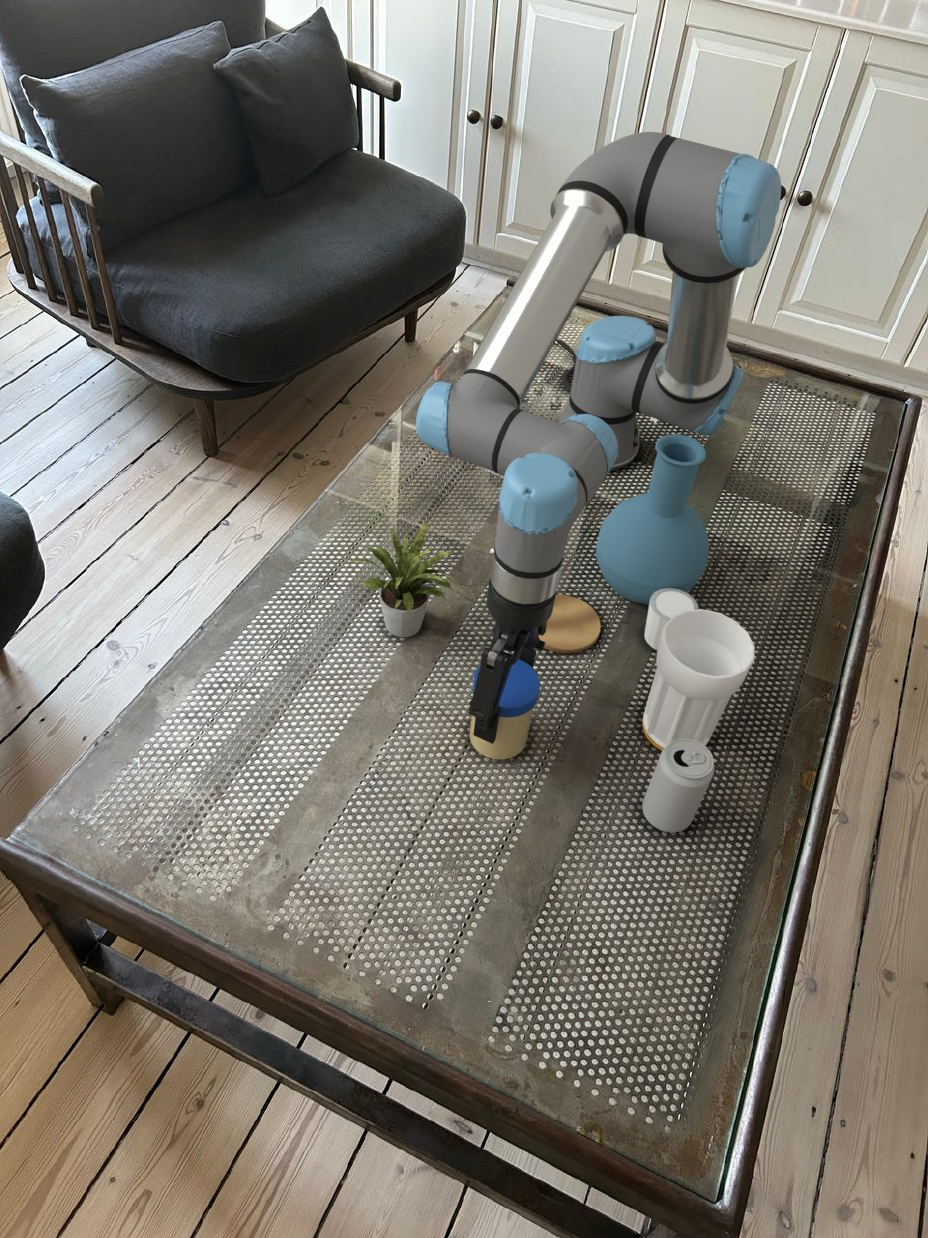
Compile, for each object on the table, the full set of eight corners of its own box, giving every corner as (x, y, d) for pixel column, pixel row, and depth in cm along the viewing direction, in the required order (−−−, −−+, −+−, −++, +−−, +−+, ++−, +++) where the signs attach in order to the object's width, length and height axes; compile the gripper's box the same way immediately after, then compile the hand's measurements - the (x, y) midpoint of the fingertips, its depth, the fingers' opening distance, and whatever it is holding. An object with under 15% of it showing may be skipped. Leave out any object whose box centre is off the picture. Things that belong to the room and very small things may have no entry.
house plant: (370, 679, 134) (371, 595, 122) (331, 611, 142) (329, 526, 130) (463, 647, 139) (473, 563, 127) (421, 583, 147) (426, 499, 135)
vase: (708, 566, 154) (754, 435, 136) (679, 635, 143) (725, 503, 125) (609, 531, 158) (641, 400, 140) (574, 596, 147) (603, 462, 129)
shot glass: (690, 628, 145) (702, 595, 139) (682, 661, 140) (694, 628, 135) (645, 615, 146) (655, 581, 141) (635, 647, 141) (645, 613, 136)
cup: (630, 692, 135) (657, 605, 123) (711, 698, 136) (747, 612, 123) (637, 760, 128) (667, 674, 115) (723, 766, 128) (763, 681, 115)
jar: (460, 721, 130) (466, 669, 122) (512, 706, 132) (521, 654, 124) (483, 766, 125) (490, 715, 117) (536, 750, 128) (547, 699, 120)
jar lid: (462, 675, 123) (463, 665, 122) (520, 659, 126) (522, 649, 124) (488, 725, 118) (490, 715, 117) (549, 707, 121) (551, 697, 119)
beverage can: (636, 792, 124) (656, 735, 115) (685, 790, 125) (709, 734, 116) (646, 836, 120) (668, 781, 111) (697, 835, 121) (723, 779, 112)
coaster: (512, 607, 145) (513, 604, 144) (578, 591, 148) (579, 587, 148) (545, 661, 138) (545, 657, 137) (613, 642, 142) (614, 638, 141)
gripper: (534, 515, 116) (513, 641, 132) (445, 634, 102) (434, 759, 118) (592, 537, 114) (563, 663, 130) (510, 662, 100) (490, 785, 116)
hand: (502, 708), depth 124 cm, fingers open, 10 cm apart
